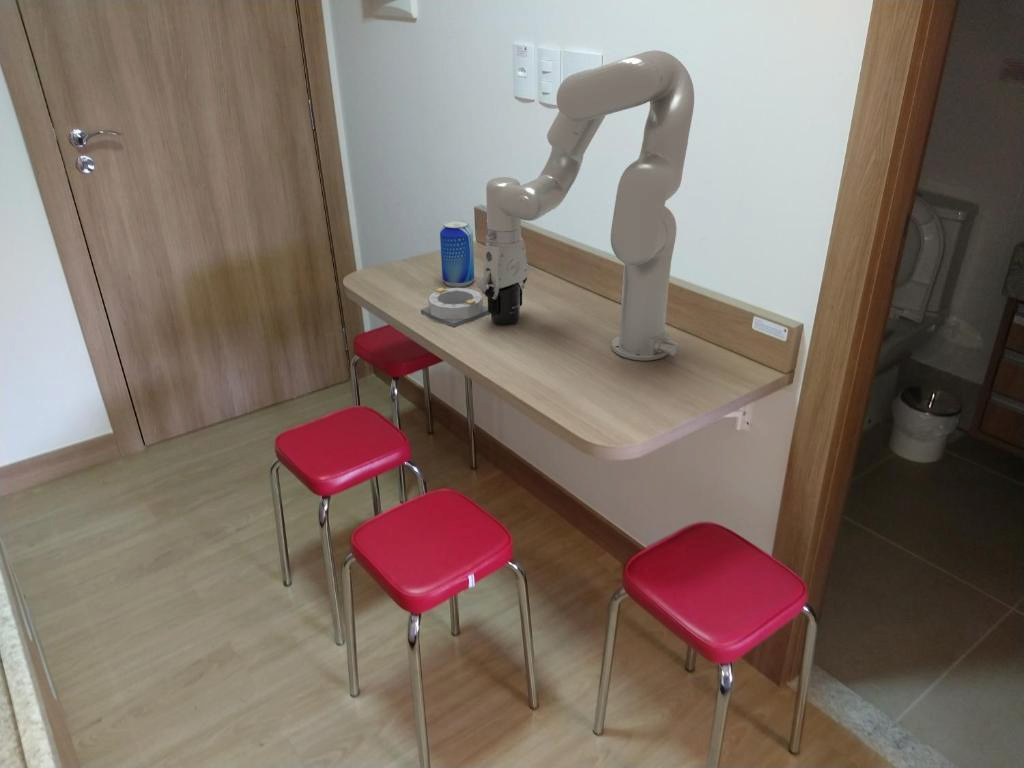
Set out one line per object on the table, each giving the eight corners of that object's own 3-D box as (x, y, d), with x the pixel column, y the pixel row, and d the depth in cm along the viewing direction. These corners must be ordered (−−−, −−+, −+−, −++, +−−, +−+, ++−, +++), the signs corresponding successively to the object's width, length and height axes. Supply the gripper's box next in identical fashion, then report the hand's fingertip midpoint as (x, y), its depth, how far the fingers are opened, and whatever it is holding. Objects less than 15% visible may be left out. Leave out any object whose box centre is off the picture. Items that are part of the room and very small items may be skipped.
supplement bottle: (519, 326, 184) (519, 278, 178) (490, 327, 184) (489, 278, 178) (520, 315, 190) (519, 267, 184) (491, 315, 190) (490, 267, 184)
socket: (492, 312, 191) (492, 294, 189) (453, 328, 184) (452, 309, 181) (458, 299, 199) (457, 281, 197) (419, 313, 192) (418, 295, 189)
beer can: (437, 286, 207) (434, 226, 200) (449, 275, 214) (446, 217, 207) (468, 289, 205) (465, 229, 197) (478, 278, 212) (476, 219, 204)
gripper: (487, 247, 169) (489, 324, 178) (543, 229, 180) (542, 302, 189) (463, 240, 174) (466, 314, 183) (519, 223, 185) (519, 294, 193)
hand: (505, 308), depth 185 cm, fingers closed on supplement bottle, 6 cm apart
